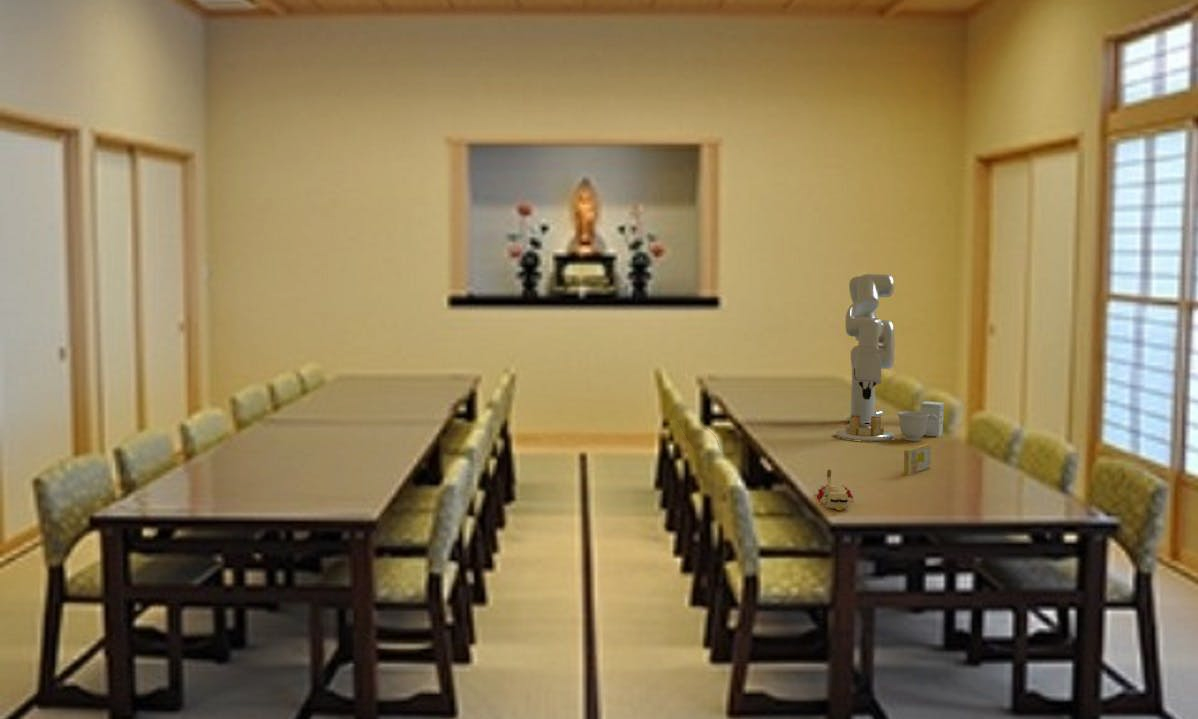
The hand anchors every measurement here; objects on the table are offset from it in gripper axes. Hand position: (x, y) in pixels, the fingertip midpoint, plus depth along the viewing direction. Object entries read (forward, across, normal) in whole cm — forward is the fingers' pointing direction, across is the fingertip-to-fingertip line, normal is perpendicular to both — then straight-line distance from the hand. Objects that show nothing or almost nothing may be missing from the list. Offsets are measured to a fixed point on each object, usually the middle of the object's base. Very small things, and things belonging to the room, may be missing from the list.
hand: (866, 399), depth 478 cm
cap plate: (+14, +1, +4) cm, 15 cm away
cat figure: (+18, +44, +120) cm, 129 cm away
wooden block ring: (+12, +1, +4) cm, 13 cm away
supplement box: (+14, -26, -1) cm, 30 cm away
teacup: (+14, -17, +11) cm, 24 cm away
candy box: (+16, +4, +73) cm, 75 cm away
